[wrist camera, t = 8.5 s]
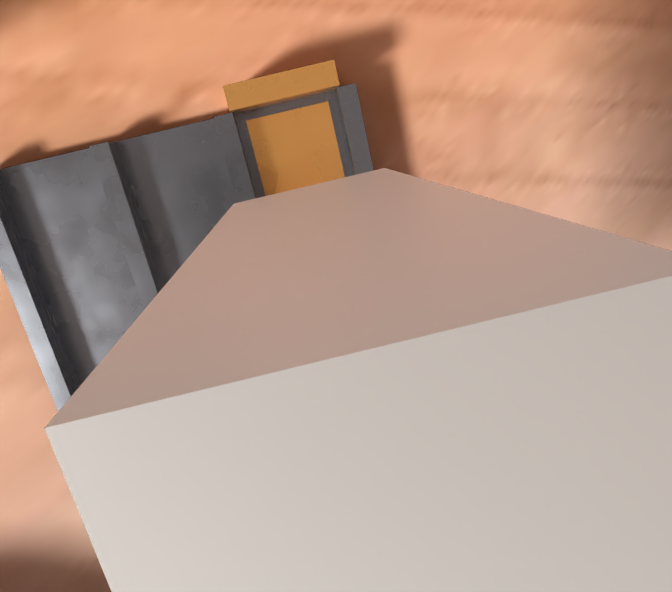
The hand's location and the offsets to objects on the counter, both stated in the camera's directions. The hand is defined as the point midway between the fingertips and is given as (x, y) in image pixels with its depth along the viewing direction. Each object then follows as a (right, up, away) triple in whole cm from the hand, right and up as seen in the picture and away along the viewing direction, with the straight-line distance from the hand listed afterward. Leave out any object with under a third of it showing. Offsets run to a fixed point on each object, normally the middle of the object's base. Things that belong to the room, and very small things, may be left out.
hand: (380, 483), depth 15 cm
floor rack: (-8, +4, +20) cm, 22 cm away
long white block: (0, 0, +2) cm, 2 cm away
